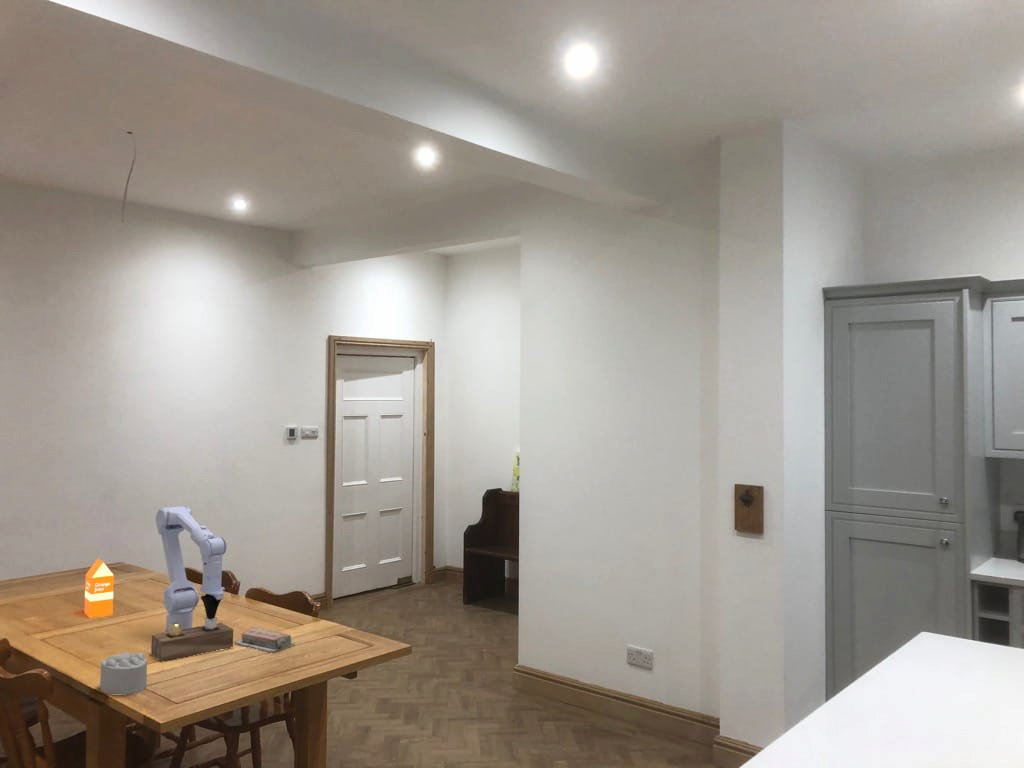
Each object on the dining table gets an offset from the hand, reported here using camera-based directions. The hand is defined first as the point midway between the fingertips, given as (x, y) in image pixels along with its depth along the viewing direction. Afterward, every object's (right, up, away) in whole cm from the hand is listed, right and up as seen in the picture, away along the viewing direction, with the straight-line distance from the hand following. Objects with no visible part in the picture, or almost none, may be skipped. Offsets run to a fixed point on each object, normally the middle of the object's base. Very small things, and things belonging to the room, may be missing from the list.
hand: (210, 617), depth 248 cm
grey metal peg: (0, -6, 0) cm, 6 cm away
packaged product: (+16, -11, +4) cm, 20 cm away
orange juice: (-57, -10, +37) cm, 69 cm away
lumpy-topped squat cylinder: (-9, -8, -37) cm, 39 cm away
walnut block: (-4, -9, -4) cm, 11 cm away
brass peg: (-8, -6, -8) cm, 13 cm away
